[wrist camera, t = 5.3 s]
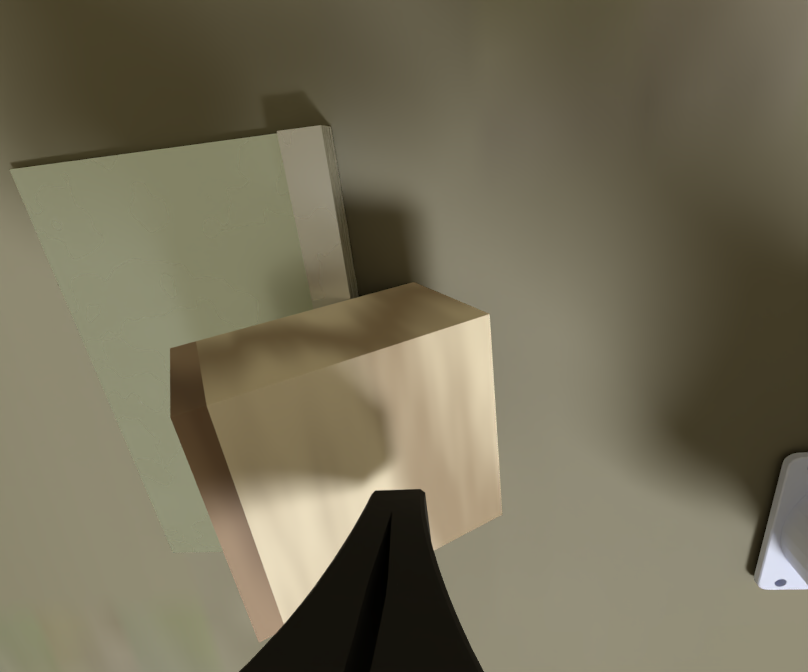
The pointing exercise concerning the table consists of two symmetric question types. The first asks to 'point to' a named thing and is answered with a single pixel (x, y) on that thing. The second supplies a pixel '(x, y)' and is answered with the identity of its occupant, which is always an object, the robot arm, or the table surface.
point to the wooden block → (336, 432)
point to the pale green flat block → (187, 272)
